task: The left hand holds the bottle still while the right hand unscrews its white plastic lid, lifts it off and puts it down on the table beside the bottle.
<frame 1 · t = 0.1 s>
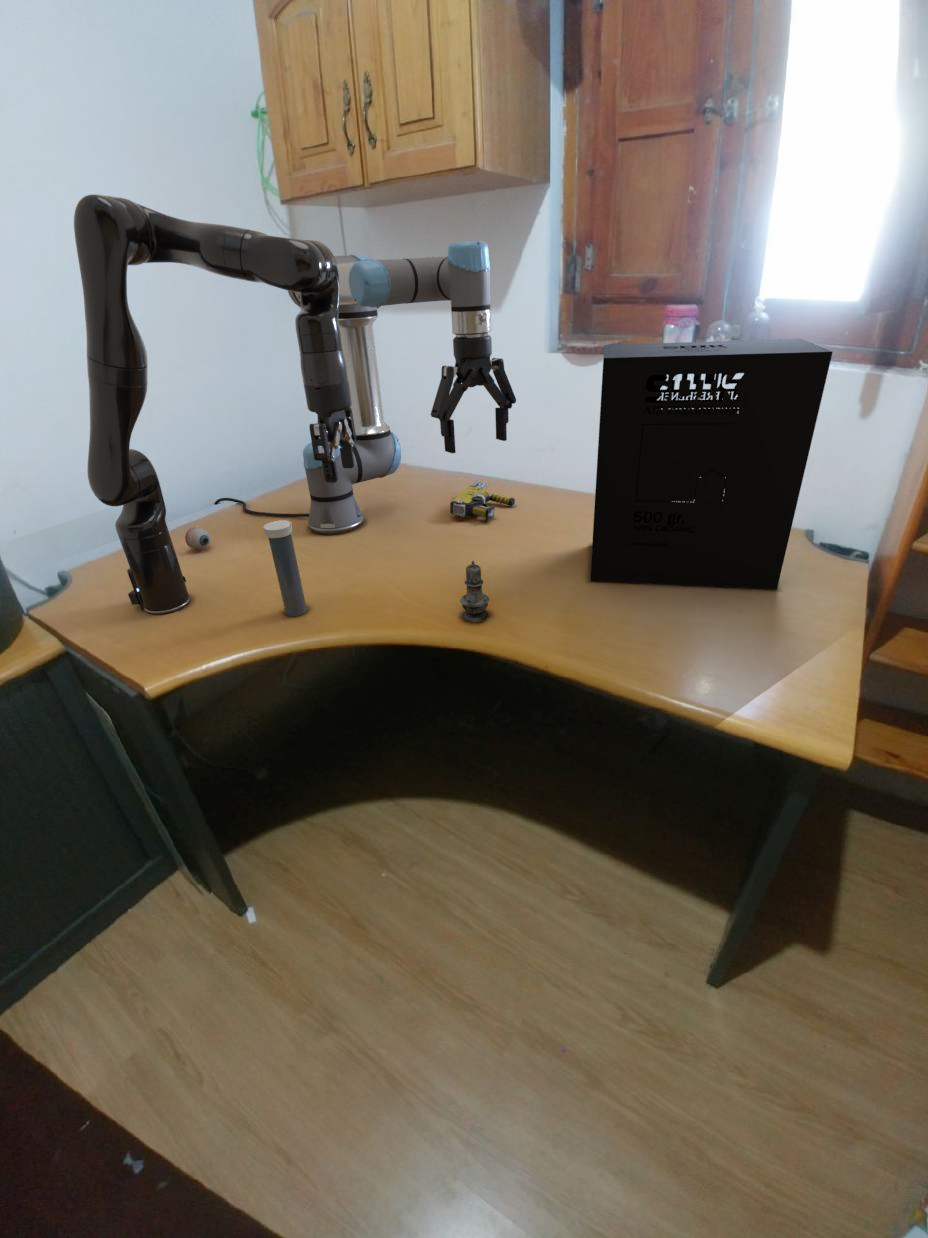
left hand: (340, 474, 109), 29 cm above the table, tool pointing down, fingers open, 8 cm apart
right hand: (476, 445, 127), 28 cm above the table, tool pointing down, fingers open, 13 cm apart
eyeball: (201, 549, 159), on the table
lid: (277, 526, 117), point 19 cm above the table, screwed on, not yet turned
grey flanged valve: (475, 616, 121), on the table
cardboard box: (676, 565, 136), on the table
bottle: (296, 611, 127), on the table
toy gun: (487, 508, 175), on the table
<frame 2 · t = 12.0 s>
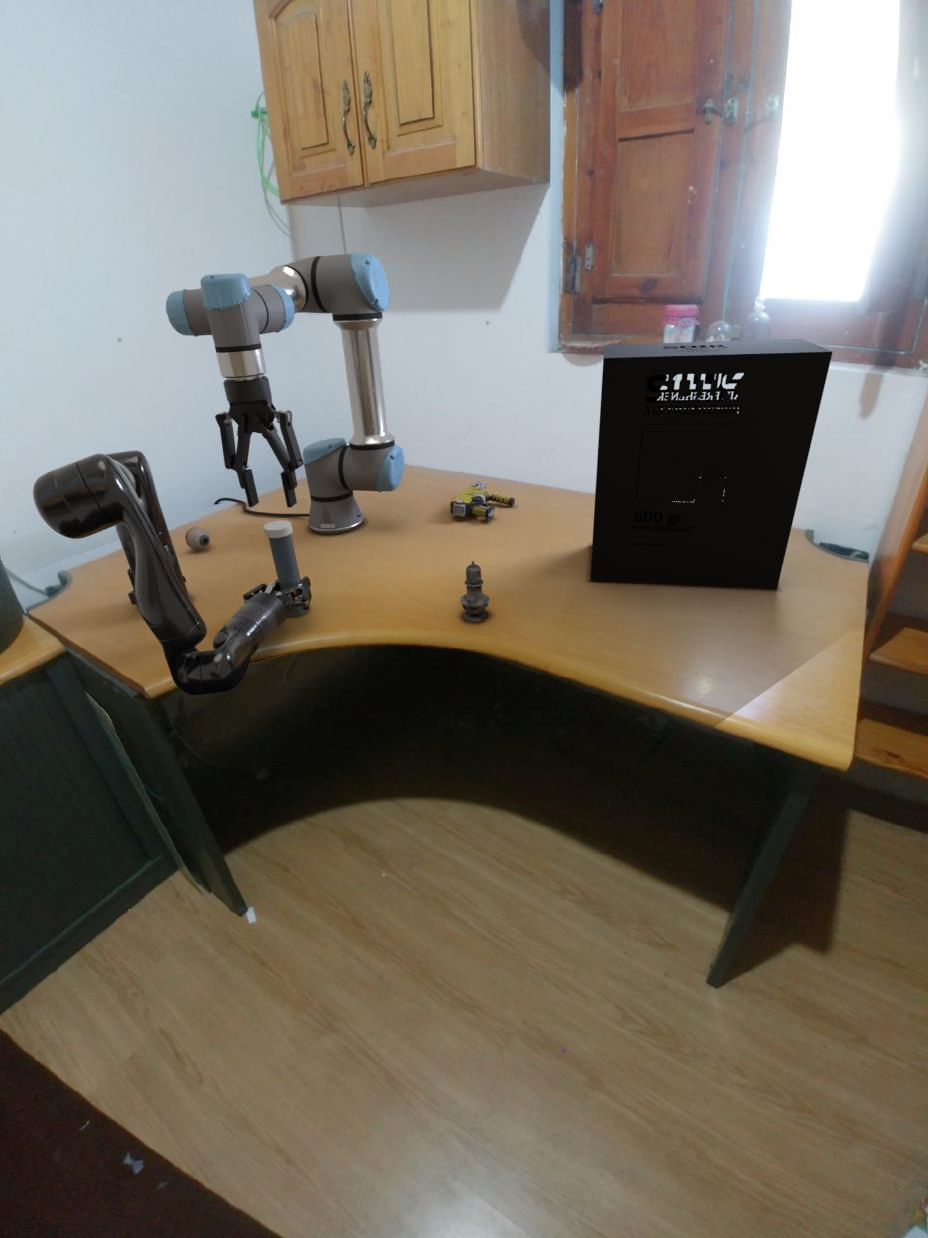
left hand: (296, 580, 126), 6 cm above the table, tool horizontal, fingers closed on bottle, 4 cm apart
right hand: (273, 504, 115), 23 cm above the table, tool pointing down, fingers open, 7 cm apart
bottle: (296, 611, 127), on the table, touching left hand
everything else where it was.
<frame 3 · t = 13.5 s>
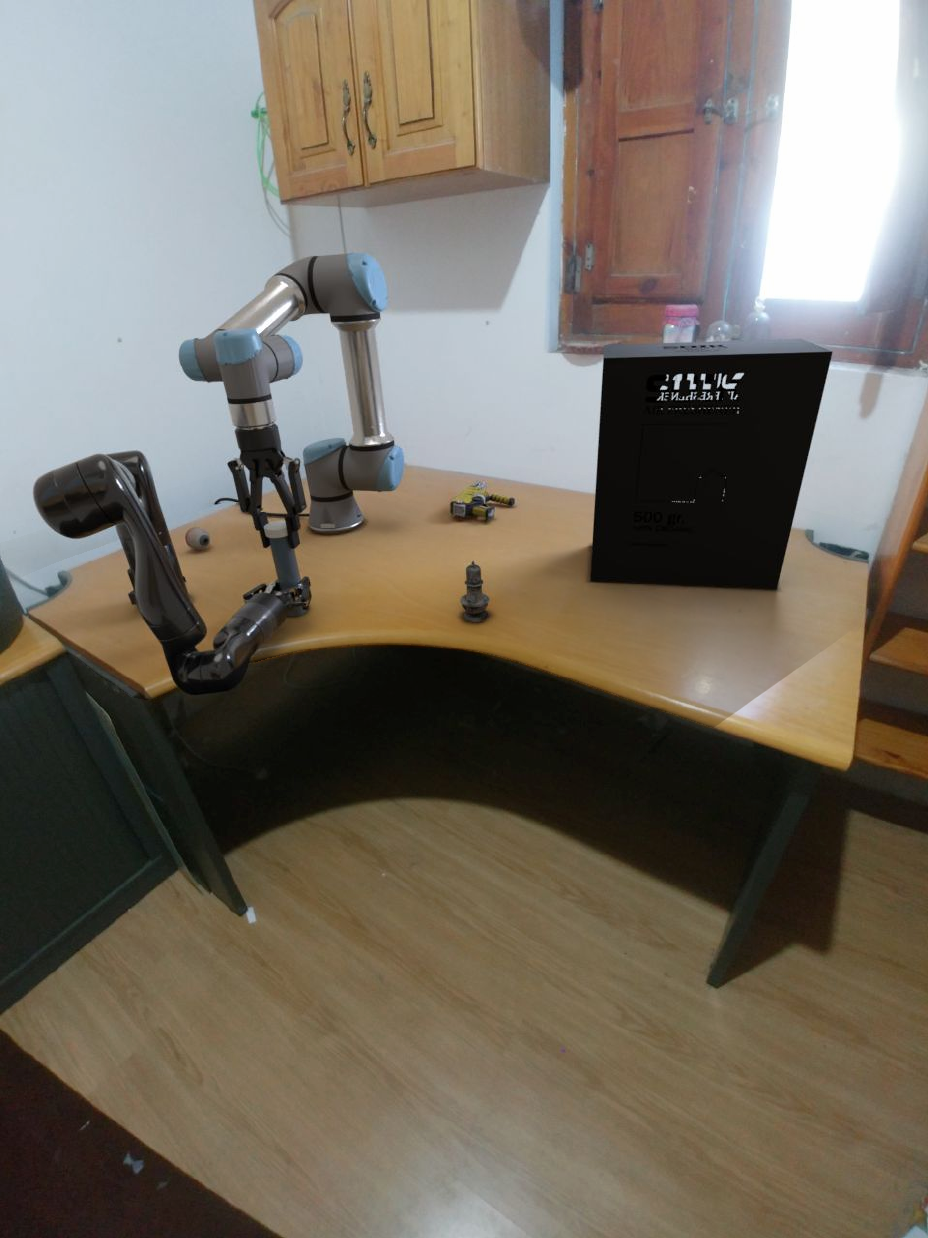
left hand: (296, 580, 126), 6 cm above the table, tool horizontal, fingers closed on bottle, 4 cm apart
right hand: (281, 545, 119), 15 cm above the table, tool pointing down, fingers closed on lid, 5 cm apart
lid: (277, 526, 117), point 19 cm above the table, screwed on, not yet turned, touching right hand
bottle: (296, 611, 127), on the table, touching left hand
everything else where it was.
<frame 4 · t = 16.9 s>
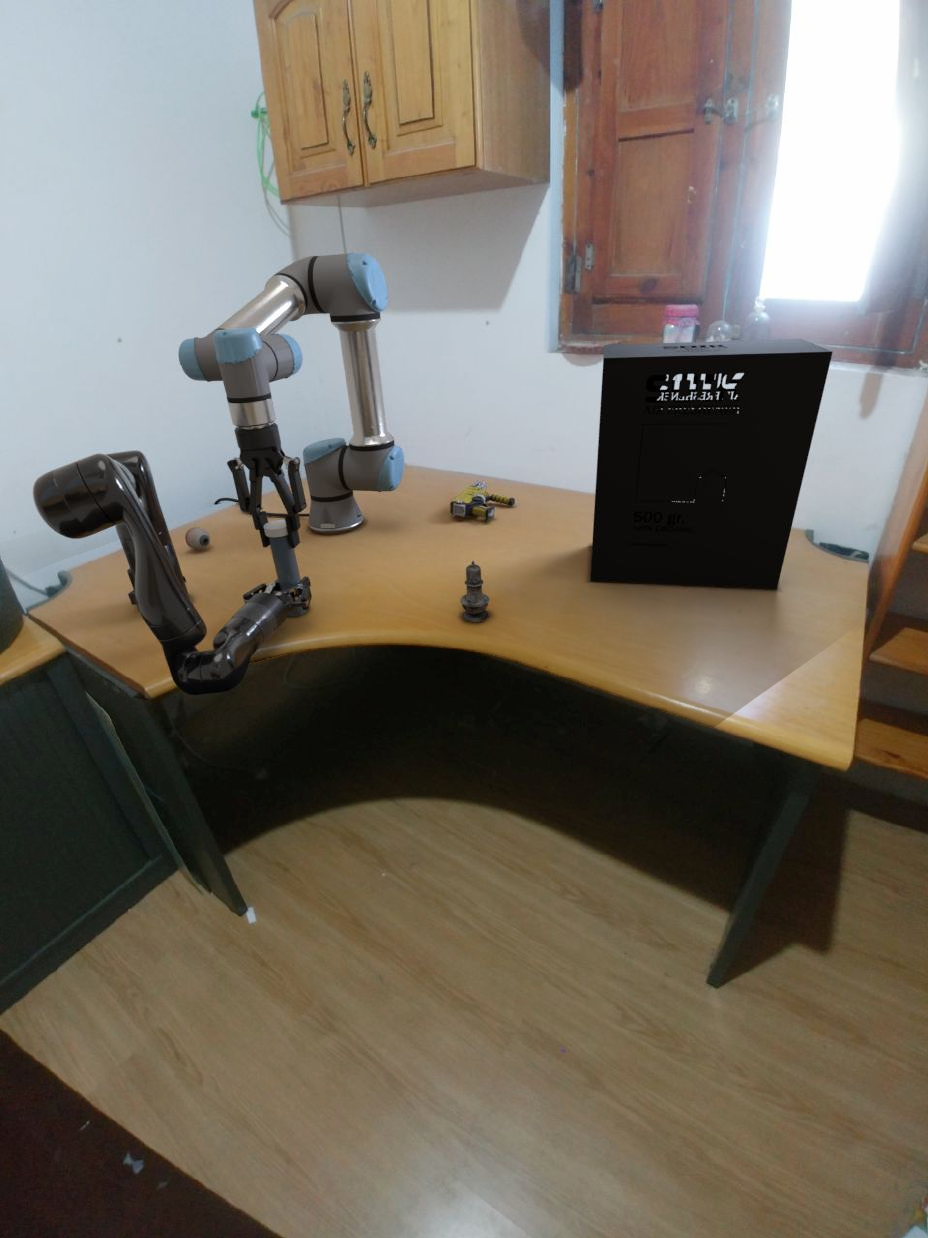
left hand: (296, 580, 126), 6 cm above the table, tool horizontal, fingers closed on bottle, 4 cm apart
right hand: (281, 544, 119), 15 cm above the table, tool pointing down, fingers closed on lid, 5 cm apart
lid: (277, 526, 117), point 19 cm above the table, turned 101° so far, risen 0.1 cm, still on its thread, touching right hand
bottle: (296, 611, 127), on the table, touching left hand
everything else where it was.
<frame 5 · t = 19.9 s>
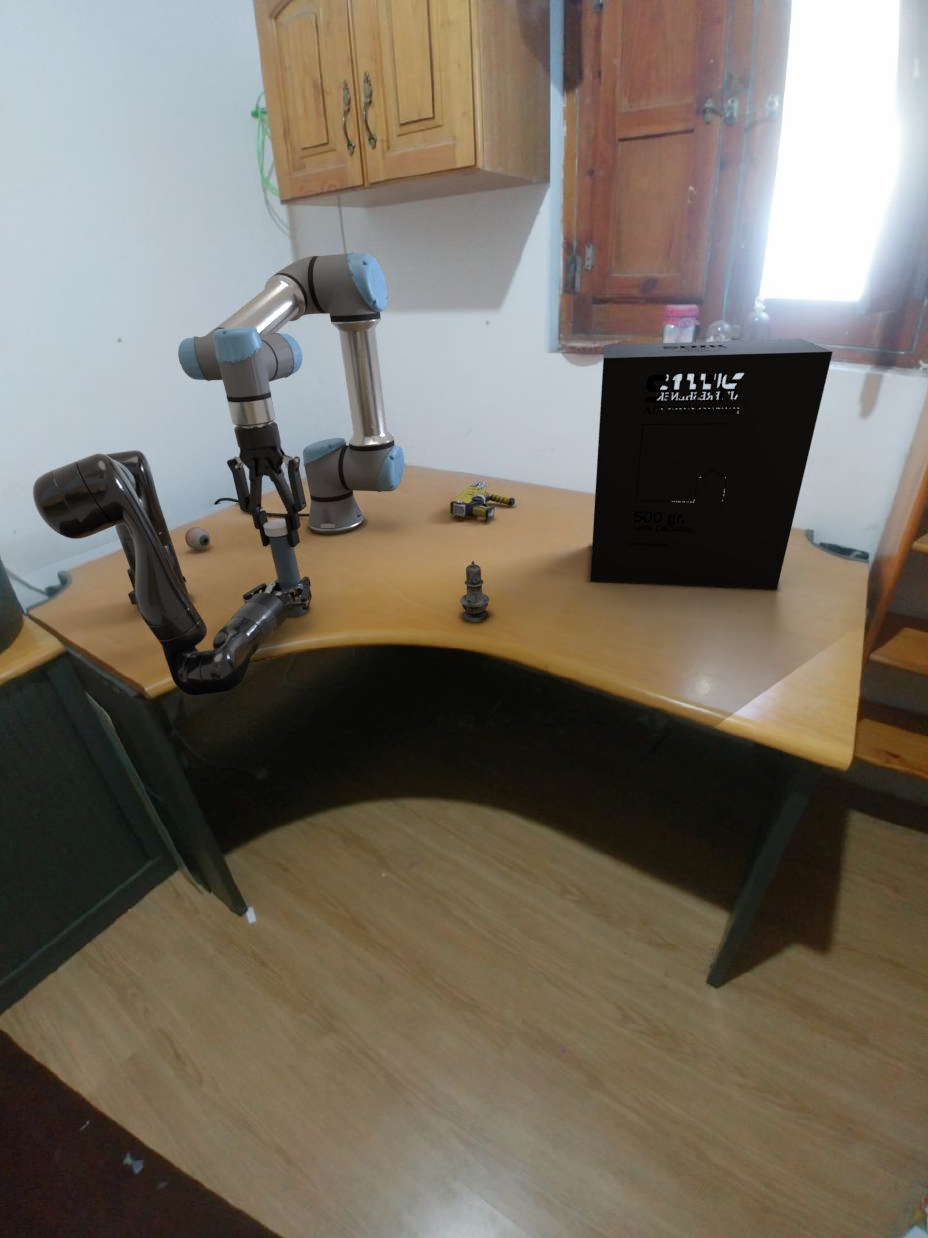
left hand: (296, 580, 126), 6 cm above the table, tool horizontal, fingers closed on bottle, 4 cm apart
right hand: (281, 544, 119), 15 cm above the table, tool pointing down, fingers closed on lid, 5 cm apart
lid: (277, 525, 117), point 19 cm above the table, turned 202° so far, risen 0.3 cm, still on its thread, touching right hand
bottle: (296, 611, 127), on the table, touching left hand
everything else where it was.
when the right hand's fingers open (0 cm above the table, at t = 30.3 s): lid drops 2 cm, point 1 cm above the table.
when the left hand's fingers open (6 cm above the table, at t = 31.5 s): bottle stays where it is, on the table.
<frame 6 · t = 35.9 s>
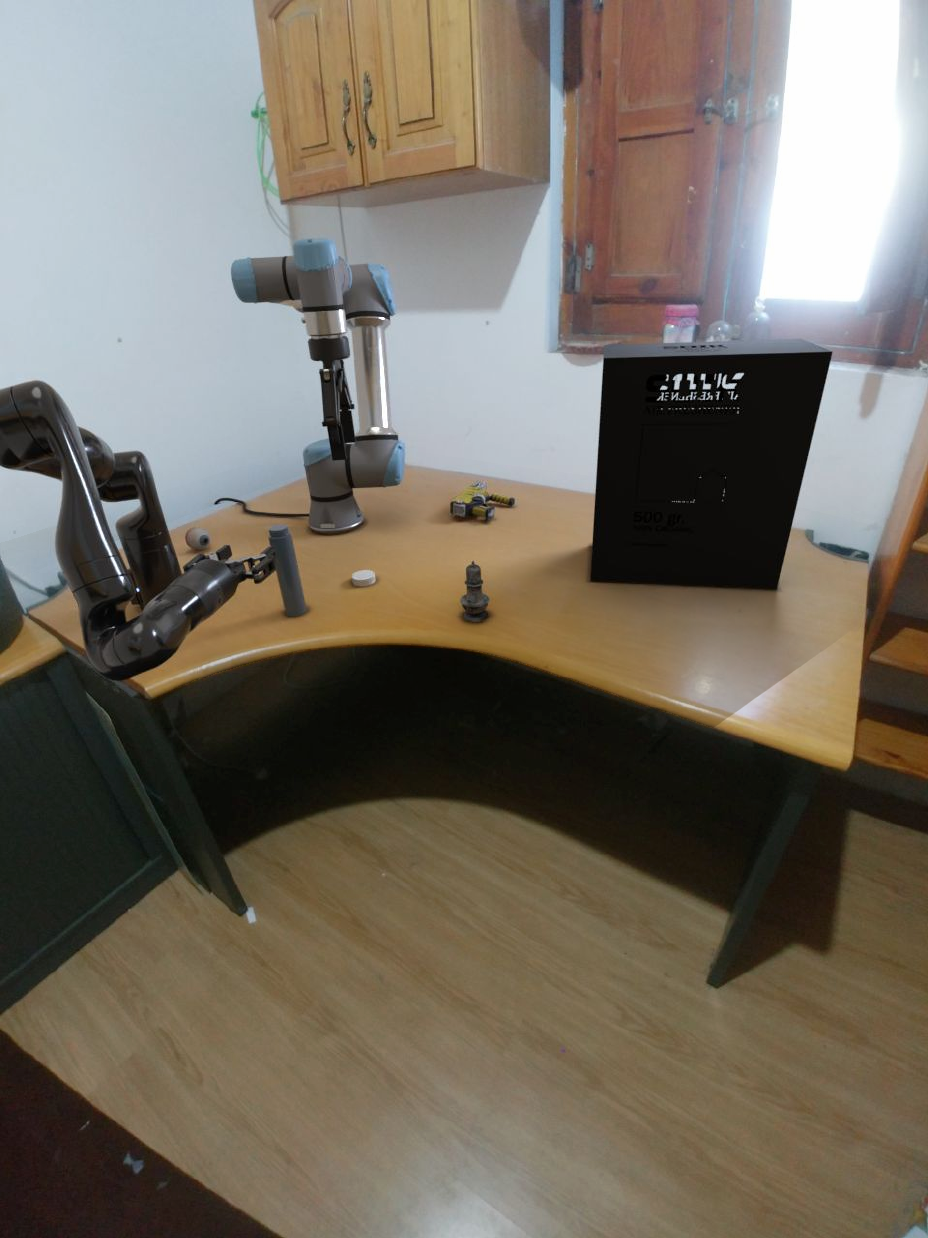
left hand: (250, 550, 108), 19 cm above the table, tool horizontal, fingers open, 8 cm apart
right hand: (344, 450, 123), 30 cm above the table, tool pointing down, fingers open, 13 cm apart
lid: (363, 576, 137), point 1 cm above the table, off its thread
bottle: (296, 611, 127), on the table
everything else where it was.
at the end: lid came off its thread; lid point 1.3 cm above the table; the left hand is holding nothing; the right hand is holding nothing; bottle tilted 0°; bottle moved 0.0 cm from its start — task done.
